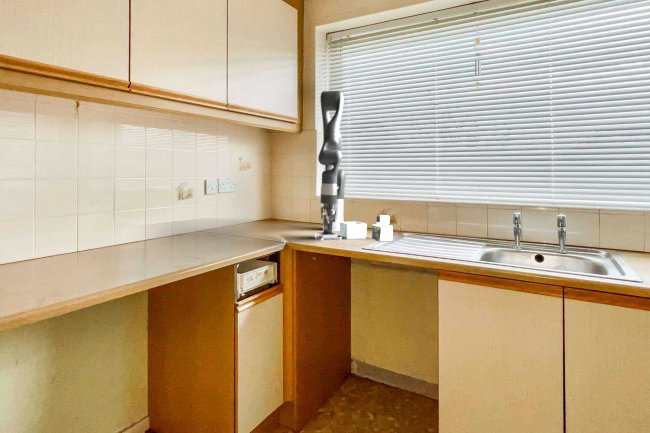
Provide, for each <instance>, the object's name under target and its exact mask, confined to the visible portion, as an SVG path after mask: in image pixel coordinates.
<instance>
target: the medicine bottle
mask: <svg viewBox="0 0 650 433" xmlns="http://www.w3.org/2000/svg"><path fill="white" fill-rule="evenodd" d="M389 224H390V216H389V215H386V214H379V215H376V224H372V225H371V226H372V228H371V230H372V231H371V239H372V240H375V241H377V242H392V241H393V231H394V230H393V229H394V228H393V225H389Z"/></svg>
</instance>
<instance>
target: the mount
mask: <svg viewBox="0 0 650 433" xmlns="http://www.w3.org/2000/svg"><path fill="white" fill-rule="evenodd" d="M316 234H317V235H316ZM316 234H313V235H312V236H311V237H312V238H314V239H315V240H318V241H320V242H321V241H345V238H343V237H340V236H338V235H339V234H337V233H335V232H333V231H332V234H331V235H324V234H323V231H322V232H319V231H318V232H317V233H316Z"/></svg>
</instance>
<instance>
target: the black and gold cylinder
mask: <svg viewBox="0 0 650 433" xmlns="http://www.w3.org/2000/svg"><path fill="white" fill-rule="evenodd" d="M323 214H324V224H322V230H323V231H322V232H323V234H324V235H331V234H332V232H333V231H327V223H328V221H327V218H326V212H325V211H323ZM329 216H330V215H329Z"/></svg>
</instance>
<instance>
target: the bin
mask: <svg viewBox="0 0 650 433" xmlns="http://www.w3.org/2000/svg"><path fill="white" fill-rule="evenodd" d="M367 230H368V225H367V223H365V222H361V221H343V222H340V231H339V234H338V235H339V236H338V237H340V238H342V239H346V240H358V239H359V240H361V239H367Z"/></svg>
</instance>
